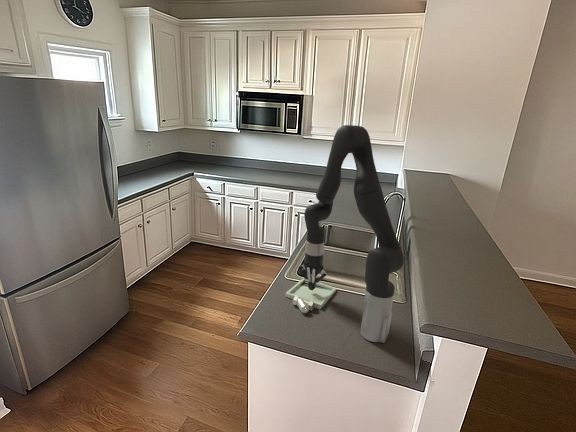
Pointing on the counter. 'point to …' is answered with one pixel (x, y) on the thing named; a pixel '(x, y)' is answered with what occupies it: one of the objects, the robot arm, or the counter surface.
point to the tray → (311, 293)
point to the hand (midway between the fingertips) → (311, 289)
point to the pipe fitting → (303, 304)
